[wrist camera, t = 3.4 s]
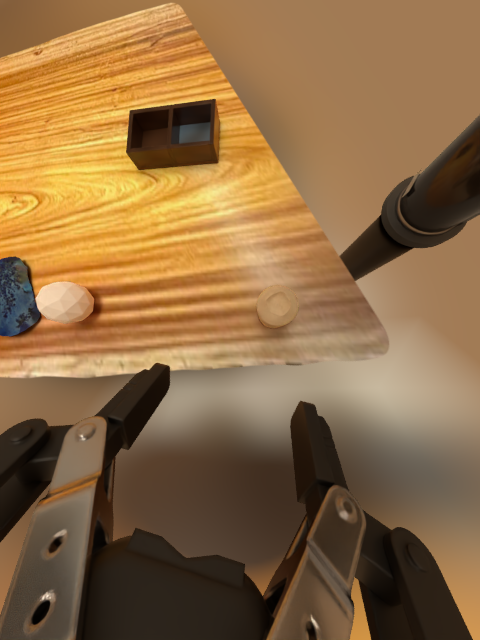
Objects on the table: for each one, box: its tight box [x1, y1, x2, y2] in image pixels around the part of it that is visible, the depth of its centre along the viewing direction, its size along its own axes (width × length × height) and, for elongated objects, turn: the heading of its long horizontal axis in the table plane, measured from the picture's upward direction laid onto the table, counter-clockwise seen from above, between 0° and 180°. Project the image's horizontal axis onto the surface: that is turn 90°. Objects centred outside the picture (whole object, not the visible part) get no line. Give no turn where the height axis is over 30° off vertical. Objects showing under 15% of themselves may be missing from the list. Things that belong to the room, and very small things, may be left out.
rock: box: [0, 257, 40, 336], centre depth 38 cm, size 15×17×2 cm
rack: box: [126, 99, 220, 170], centre depth 35 cm, size 17×9×4 cm, turn 88°
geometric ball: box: [36, 282, 94, 324], centre depth 33 cm, size 8×8×8 cm
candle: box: [257, 285, 299, 328], centre depth 27 cm, size 6×6×10 cm
